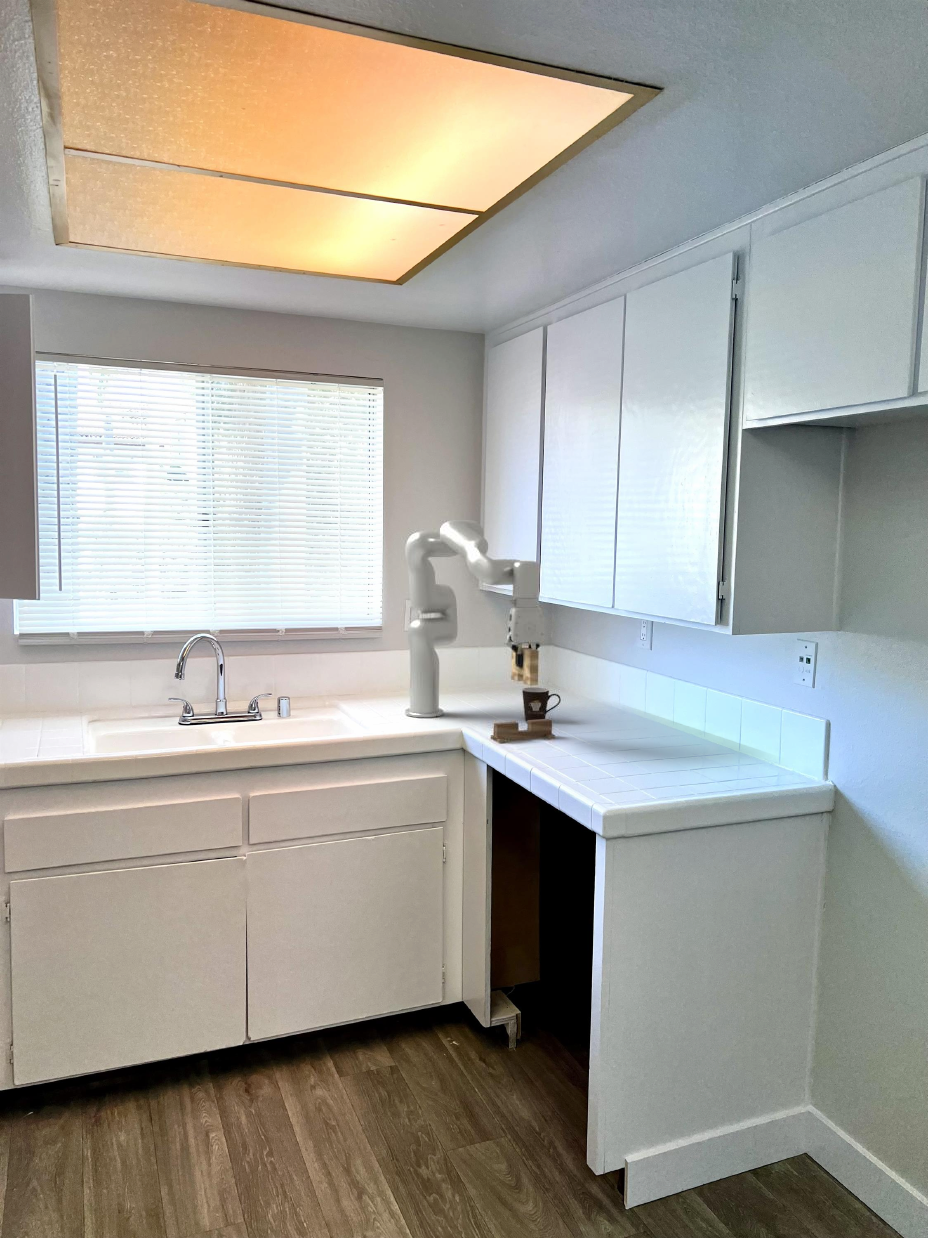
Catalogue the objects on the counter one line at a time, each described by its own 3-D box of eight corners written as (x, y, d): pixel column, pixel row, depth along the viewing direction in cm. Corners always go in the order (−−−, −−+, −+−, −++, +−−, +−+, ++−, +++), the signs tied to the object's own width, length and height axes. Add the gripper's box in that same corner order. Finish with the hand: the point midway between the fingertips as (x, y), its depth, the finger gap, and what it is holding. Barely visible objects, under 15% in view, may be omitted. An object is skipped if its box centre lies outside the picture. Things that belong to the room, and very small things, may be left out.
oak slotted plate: (511, 679, 269) (511, 645, 268) (519, 678, 270) (519, 645, 269) (529, 685, 258) (530, 650, 257) (537, 685, 259) (538, 650, 258)
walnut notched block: (490, 738, 265) (490, 721, 264) (545, 734, 272) (545, 717, 271) (499, 743, 259) (499, 726, 259) (554, 738, 266) (555, 721, 266)
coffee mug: (517, 721, 289) (517, 690, 288) (528, 716, 296) (528, 686, 295) (551, 725, 283) (551, 694, 282) (561, 720, 291) (562, 689, 290)
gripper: (506, 605, 255) (505, 670, 257) (556, 604, 262) (555, 667, 263) (494, 603, 262) (493, 666, 264) (544, 602, 268) (542, 663, 270)
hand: (524, 666), depth 264 cm, fingers closed on oak slotted plate, 2 cm apart
